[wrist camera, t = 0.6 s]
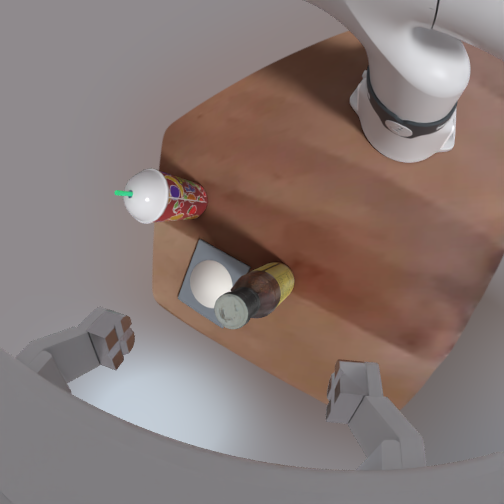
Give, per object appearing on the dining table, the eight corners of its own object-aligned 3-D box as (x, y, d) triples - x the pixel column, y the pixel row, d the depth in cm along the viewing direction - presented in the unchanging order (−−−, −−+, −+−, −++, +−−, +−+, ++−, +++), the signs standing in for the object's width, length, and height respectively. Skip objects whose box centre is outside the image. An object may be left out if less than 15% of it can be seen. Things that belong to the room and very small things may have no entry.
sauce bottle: (257, 290, 50) (195, 325, 32) (266, 256, 49) (205, 273, 31) (292, 303, 48) (246, 347, 30) (302, 267, 47) (261, 294, 29)
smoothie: (214, 177, 52) (138, 156, 33) (215, 222, 52) (137, 221, 34) (177, 182, 55) (98, 168, 36) (178, 224, 55) (98, 225, 37)
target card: (201, 239, 54) (199, 239, 53) (250, 267, 50) (249, 267, 50) (179, 297, 57) (177, 298, 56) (223, 327, 54) (222, 328, 53)
